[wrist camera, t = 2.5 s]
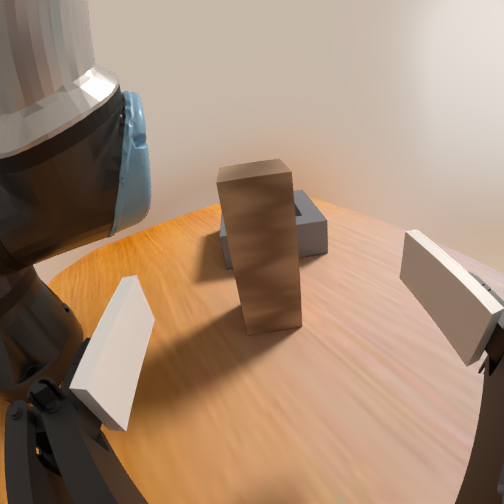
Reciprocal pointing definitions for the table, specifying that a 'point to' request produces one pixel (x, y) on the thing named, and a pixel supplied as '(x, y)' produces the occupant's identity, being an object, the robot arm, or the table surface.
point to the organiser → (308, 229)
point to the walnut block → (263, 243)
